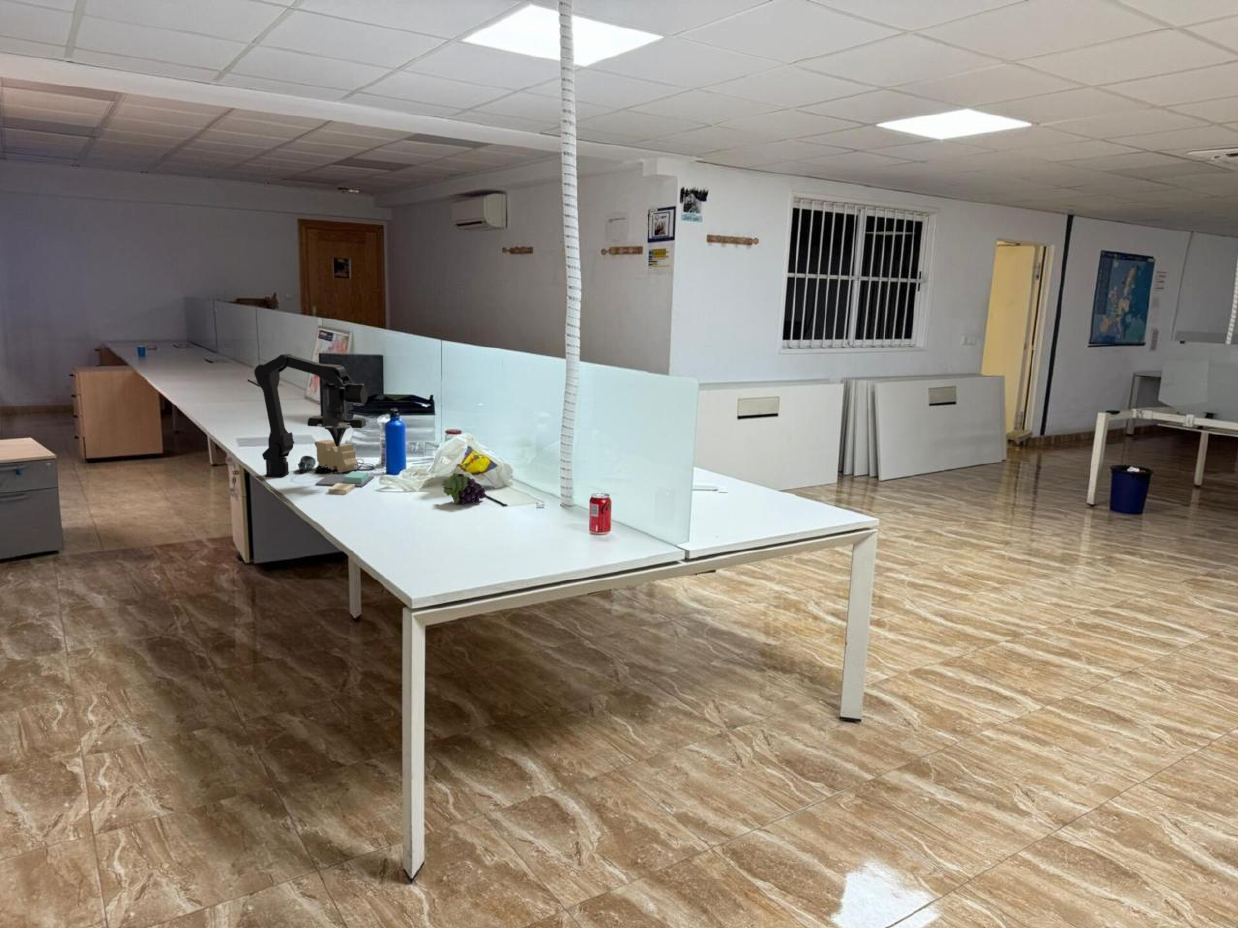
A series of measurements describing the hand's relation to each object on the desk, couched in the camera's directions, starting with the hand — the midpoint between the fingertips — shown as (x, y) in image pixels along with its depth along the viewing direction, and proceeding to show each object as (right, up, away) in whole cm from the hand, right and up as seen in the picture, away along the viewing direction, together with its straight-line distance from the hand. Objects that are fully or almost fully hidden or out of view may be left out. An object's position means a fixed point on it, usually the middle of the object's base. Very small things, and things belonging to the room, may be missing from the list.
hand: (337, 446), depth 304 cm
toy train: (-6, -8, +18) cm, 21 cm away
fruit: (+48, -19, -20) cm, 55 cm away
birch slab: (+5, -16, -12) cm, 20 cm away
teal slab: (+3, -11, 0) cm, 11 cm away
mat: (+2, -12, +1) cm, 13 cm away
